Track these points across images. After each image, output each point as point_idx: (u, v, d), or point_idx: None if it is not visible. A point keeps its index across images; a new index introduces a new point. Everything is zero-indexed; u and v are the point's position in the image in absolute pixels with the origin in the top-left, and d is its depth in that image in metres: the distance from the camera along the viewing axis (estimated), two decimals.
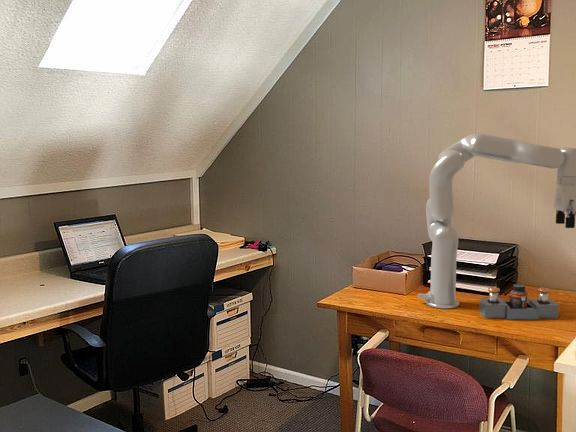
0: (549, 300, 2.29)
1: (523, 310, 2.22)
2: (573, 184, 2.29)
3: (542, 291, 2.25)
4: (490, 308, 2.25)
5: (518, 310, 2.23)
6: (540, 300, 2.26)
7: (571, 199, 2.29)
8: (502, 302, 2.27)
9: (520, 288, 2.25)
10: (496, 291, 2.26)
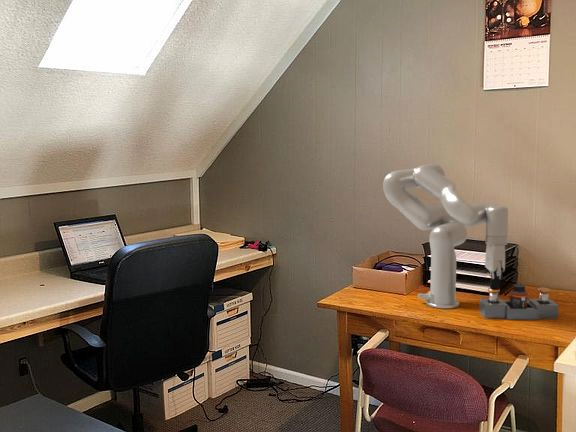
0: (549, 300, 2.29)
1: (523, 310, 2.22)
2: (501, 244, 2.21)
3: (542, 291, 2.25)
4: (490, 308, 2.25)
5: (518, 310, 2.23)
6: (540, 300, 2.26)
7: (499, 259, 2.21)
8: (502, 302, 2.27)
9: (520, 288, 2.25)
10: (496, 291, 2.26)
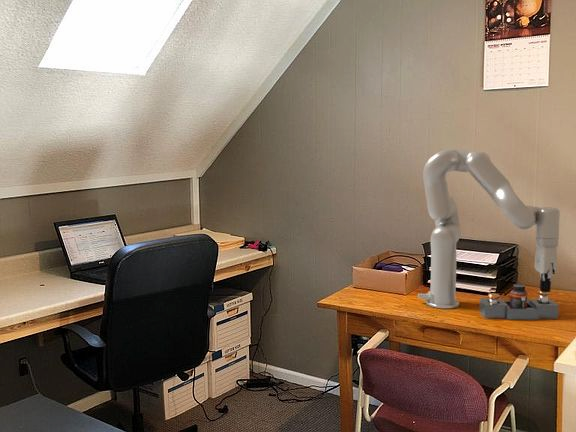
0: (549, 300, 2.29)
1: (523, 310, 2.22)
2: (553, 246, 2.20)
3: (542, 293, 2.25)
4: (490, 308, 2.25)
5: (518, 310, 2.23)
6: (540, 302, 2.27)
7: (550, 261, 2.20)
8: (502, 302, 2.27)
9: (520, 288, 2.25)
10: (496, 297, 2.26)
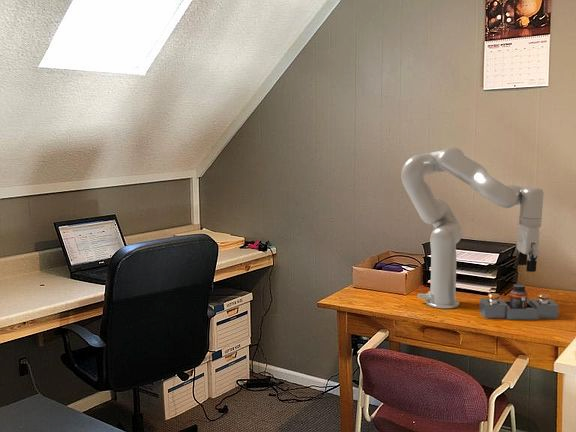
0: (549, 300, 2.29)
1: (523, 310, 2.22)
2: (535, 226, 2.20)
3: (542, 297, 2.25)
4: (490, 308, 2.25)
5: (518, 310, 2.23)
6: None
7: (532, 241, 2.19)
8: (502, 302, 2.27)
9: (520, 288, 2.25)
10: (496, 297, 2.26)
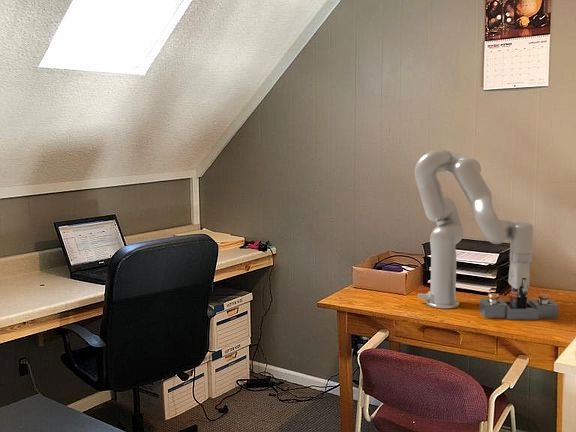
0: (549, 300, 2.29)
1: (523, 310, 2.22)
2: (526, 261, 2.22)
3: (542, 297, 2.25)
4: (490, 308, 2.25)
5: (518, 310, 2.23)
6: None
7: (523, 277, 2.21)
8: (502, 302, 2.27)
9: None
10: (496, 297, 2.26)
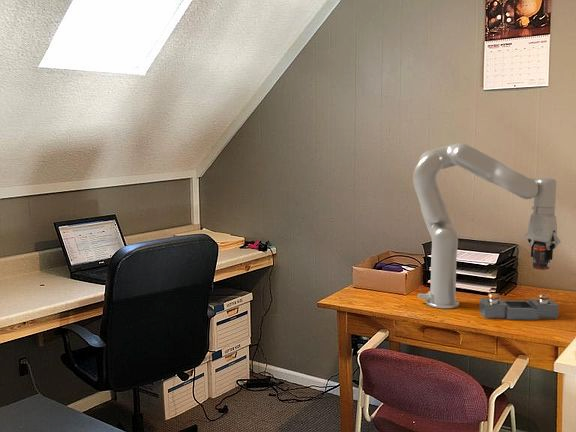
0: (549, 300, 2.29)
1: (523, 310, 2.22)
2: (553, 214, 2.29)
3: (542, 297, 2.25)
4: (490, 308, 2.25)
5: (518, 310, 2.23)
6: None
7: (553, 229, 2.28)
8: (502, 302, 2.27)
9: None
10: (496, 297, 2.26)
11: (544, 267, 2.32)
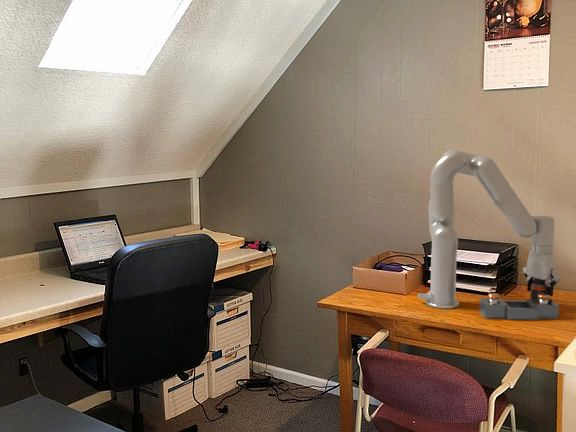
0: (549, 300, 2.29)
1: (523, 310, 2.22)
2: (551, 252, 2.31)
3: (542, 297, 2.25)
4: (490, 308, 2.25)
5: (518, 310, 2.23)
6: None
7: (551, 267, 2.31)
8: (502, 302, 2.27)
9: (543, 281, 2.34)
10: (496, 297, 2.26)
11: None
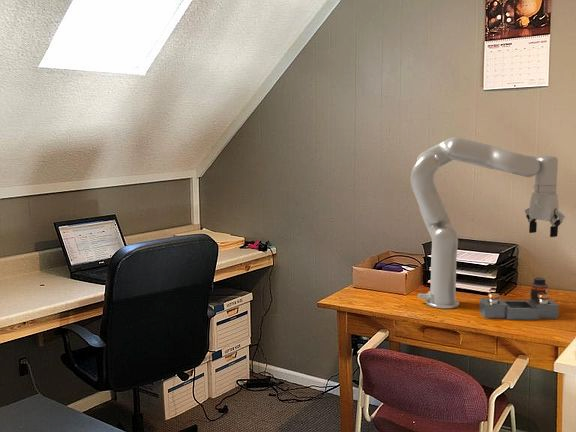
0: (549, 300, 2.29)
1: (523, 310, 2.22)
2: (554, 193, 2.28)
3: (542, 297, 2.25)
4: (490, 308, 2.25)
5: (518, 310, 2.23)
6: None
7: (555, 207, 2.27)
8: (502, 302, 2.27)
9: (543, 281, 2.34)
10: (496, 297, 2.26)
11: None
